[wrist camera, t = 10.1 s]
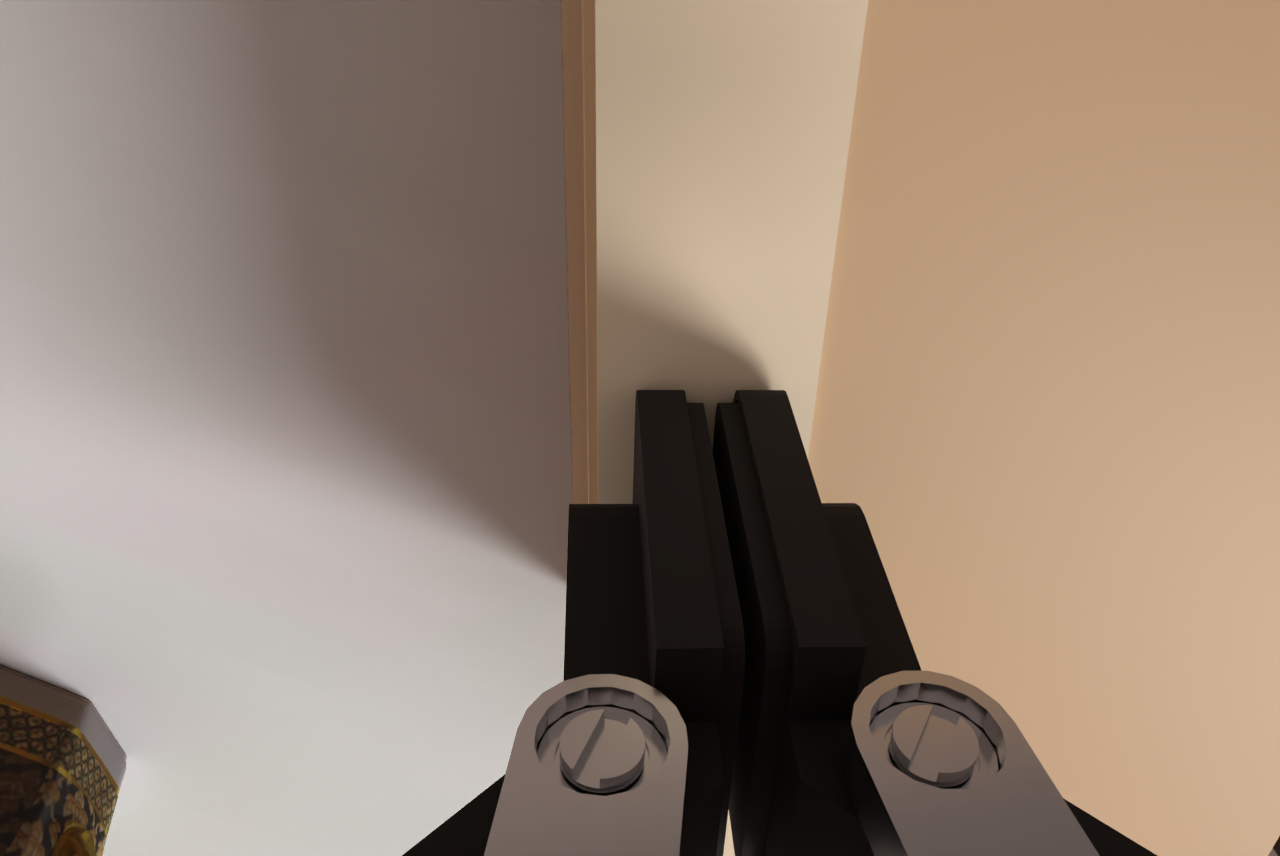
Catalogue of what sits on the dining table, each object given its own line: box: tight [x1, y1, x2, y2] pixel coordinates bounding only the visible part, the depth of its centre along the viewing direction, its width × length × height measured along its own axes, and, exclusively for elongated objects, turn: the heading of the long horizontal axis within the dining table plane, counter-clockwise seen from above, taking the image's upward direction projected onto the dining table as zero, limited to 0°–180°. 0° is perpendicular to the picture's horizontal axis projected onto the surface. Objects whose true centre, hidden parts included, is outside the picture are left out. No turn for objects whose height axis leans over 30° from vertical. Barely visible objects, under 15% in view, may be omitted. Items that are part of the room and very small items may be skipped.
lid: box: [582, 0, 1280, 856], centre depth 13 cm, size 11×18×1 cm, turn 179°
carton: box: [561, 0, 588, 504], centre depth 18 cm, size 12×18×9 cm, turn 179°
